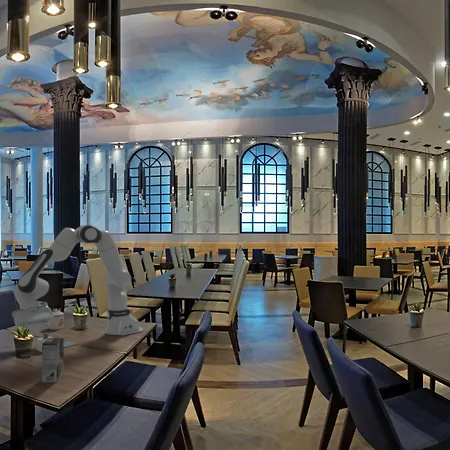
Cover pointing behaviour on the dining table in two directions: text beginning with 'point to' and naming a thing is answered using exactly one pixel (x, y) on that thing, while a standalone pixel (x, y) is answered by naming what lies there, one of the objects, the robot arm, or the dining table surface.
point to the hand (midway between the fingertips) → (39, 329)
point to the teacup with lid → (57, 321)
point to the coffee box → (52, 359)
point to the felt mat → (68, 344)
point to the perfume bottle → (42, 341)
